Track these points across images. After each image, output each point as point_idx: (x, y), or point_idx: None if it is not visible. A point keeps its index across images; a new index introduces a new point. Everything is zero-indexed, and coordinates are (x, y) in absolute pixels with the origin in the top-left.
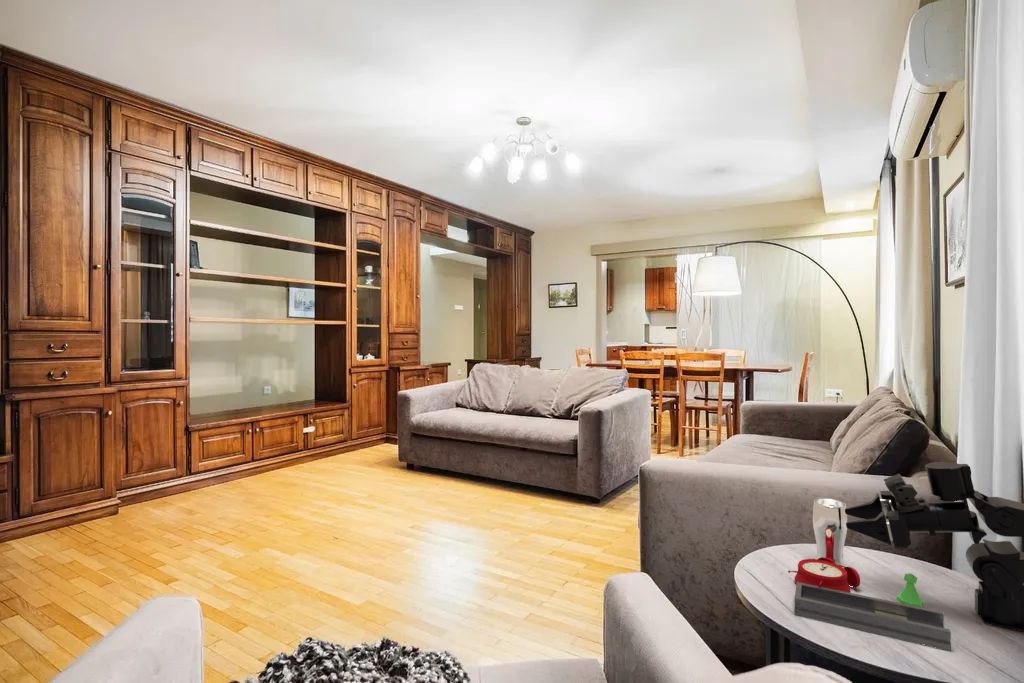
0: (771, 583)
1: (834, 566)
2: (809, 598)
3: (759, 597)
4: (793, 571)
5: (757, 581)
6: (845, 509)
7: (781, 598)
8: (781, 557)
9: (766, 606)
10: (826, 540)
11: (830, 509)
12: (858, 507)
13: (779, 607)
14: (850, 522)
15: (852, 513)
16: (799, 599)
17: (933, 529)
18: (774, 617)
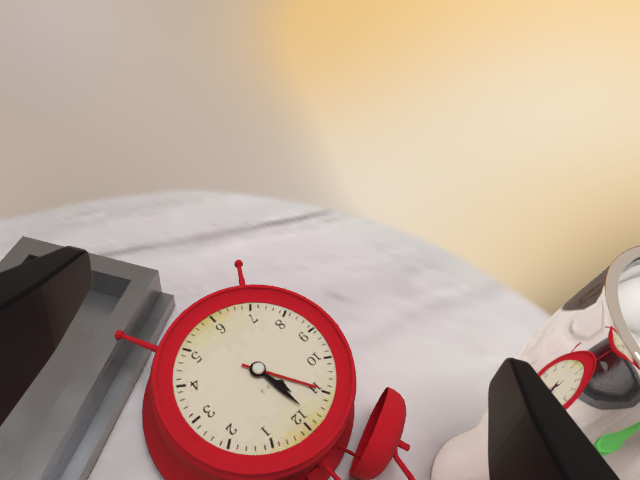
0: (246, 254)
1: (314, 438)
2: (106, 318)
3: (143, 210)
4: (239, 275)
5: (251, 224)
6: (512, 360)
7: (141, 258)
8: (475, 323)
9: (87, 214)
10: (487, 410)
11: (598, 323)
12: (556, 476)
13: (80, 242)
14: (36, 259)
15: (499, 436)
16: (13, 248)
17: None
18: (17, 219)
